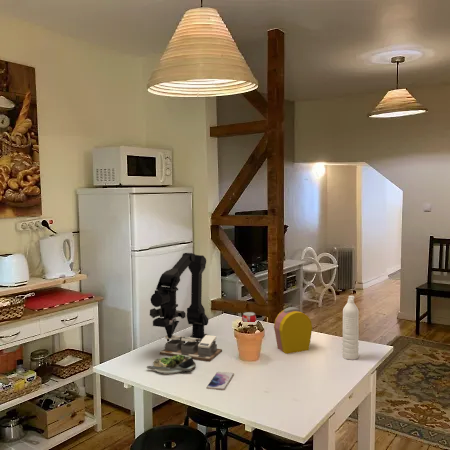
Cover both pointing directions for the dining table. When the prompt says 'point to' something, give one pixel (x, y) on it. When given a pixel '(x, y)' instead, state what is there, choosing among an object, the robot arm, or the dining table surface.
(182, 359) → the salad plate
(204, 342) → the switch
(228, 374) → the smartphone
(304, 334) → the alarm clock
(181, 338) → the switch middle
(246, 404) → the dining table surface
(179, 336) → the switch
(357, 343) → the water bottle
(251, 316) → the soda can
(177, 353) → the switch console
